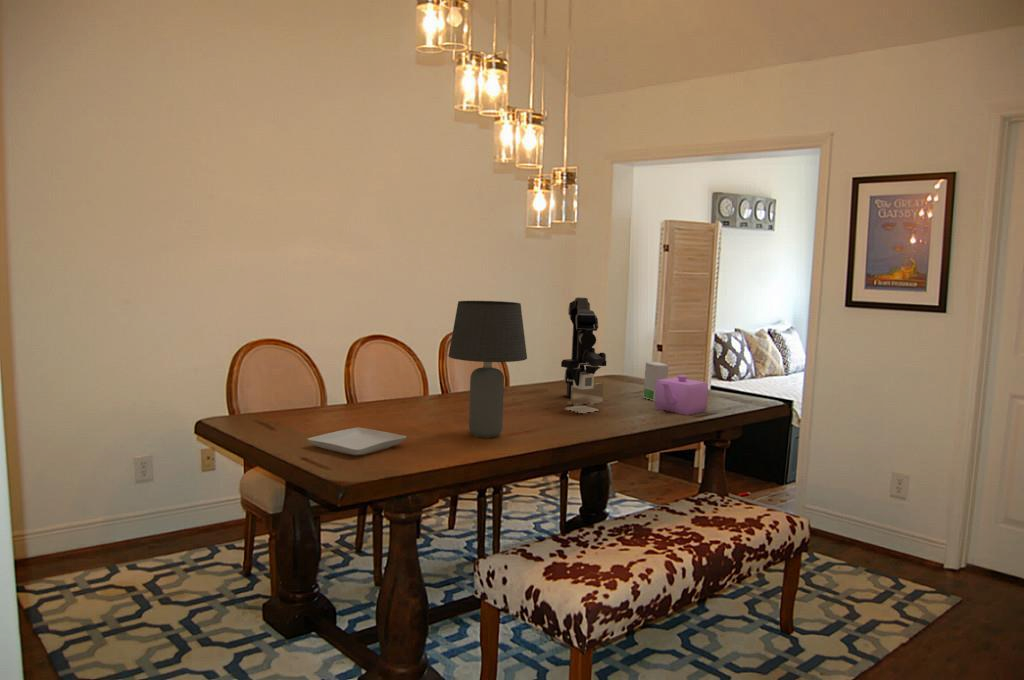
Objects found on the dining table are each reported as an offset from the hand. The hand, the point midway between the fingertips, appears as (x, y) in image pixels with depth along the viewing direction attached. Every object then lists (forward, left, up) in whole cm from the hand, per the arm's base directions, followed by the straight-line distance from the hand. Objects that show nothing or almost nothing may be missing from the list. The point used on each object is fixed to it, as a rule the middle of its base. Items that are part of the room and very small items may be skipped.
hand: (583, 385), depth 292 cm
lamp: (+17, -57, -10) cm, 60 cm away
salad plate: (+11, -99, -11) cm, 100 cm away
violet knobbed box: (+18, +35, -10) cm, 41 cm away
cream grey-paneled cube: (0, 0, -1) cm, 1 cm away
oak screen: (-9, +11, -10) cm, 18 cm away
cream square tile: (0, 0, -10) cm, 10 cm away
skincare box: (-4, +45, -10) cm, 46 cm away
